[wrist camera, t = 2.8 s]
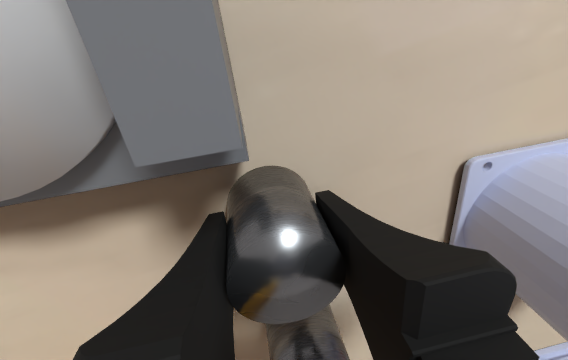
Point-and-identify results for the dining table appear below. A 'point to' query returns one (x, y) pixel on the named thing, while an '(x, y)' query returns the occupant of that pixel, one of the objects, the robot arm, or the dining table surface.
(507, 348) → the robot arm
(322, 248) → the ball
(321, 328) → the cylinder
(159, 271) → the dining table surface
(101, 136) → the dial scale
